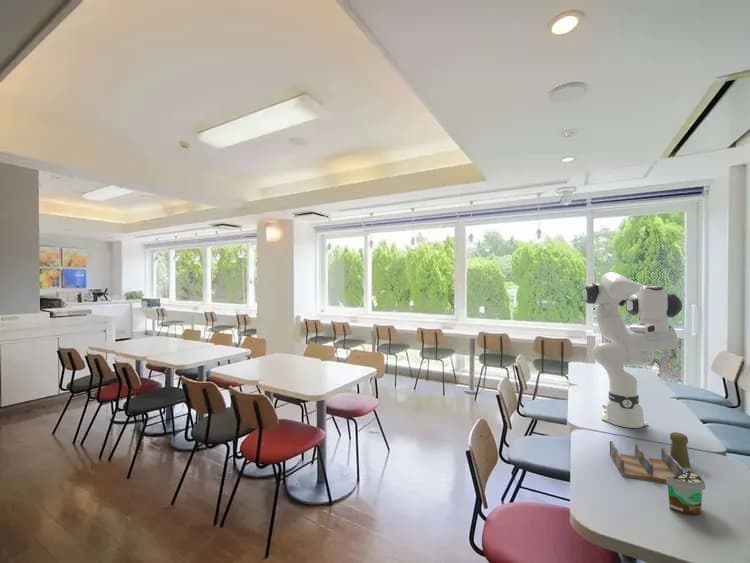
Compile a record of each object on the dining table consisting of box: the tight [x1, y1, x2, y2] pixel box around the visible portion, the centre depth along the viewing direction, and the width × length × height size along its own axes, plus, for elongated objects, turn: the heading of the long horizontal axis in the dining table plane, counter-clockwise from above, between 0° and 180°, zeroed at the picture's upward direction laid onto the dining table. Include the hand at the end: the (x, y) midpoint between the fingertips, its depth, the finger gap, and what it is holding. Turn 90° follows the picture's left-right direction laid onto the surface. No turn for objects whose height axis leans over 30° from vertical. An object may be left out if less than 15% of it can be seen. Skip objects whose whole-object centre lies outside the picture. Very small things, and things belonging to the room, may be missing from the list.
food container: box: [665, 467, 706, 517], centre depth 103 cm, size 12×6×10 cm, turn 114°
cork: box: [669, 431, 691, 468], centre depth 130 cm, size 6×6×11 cm
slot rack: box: [609, 440, 684, 484], centre depth 126 cm, size 16×17×6 cm
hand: (655, 361), depth 136 cm, fingers open, 8 cm apart
